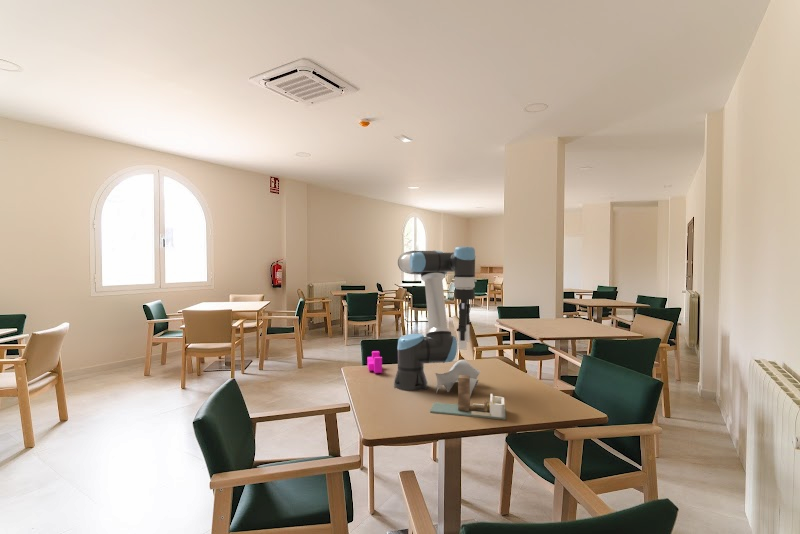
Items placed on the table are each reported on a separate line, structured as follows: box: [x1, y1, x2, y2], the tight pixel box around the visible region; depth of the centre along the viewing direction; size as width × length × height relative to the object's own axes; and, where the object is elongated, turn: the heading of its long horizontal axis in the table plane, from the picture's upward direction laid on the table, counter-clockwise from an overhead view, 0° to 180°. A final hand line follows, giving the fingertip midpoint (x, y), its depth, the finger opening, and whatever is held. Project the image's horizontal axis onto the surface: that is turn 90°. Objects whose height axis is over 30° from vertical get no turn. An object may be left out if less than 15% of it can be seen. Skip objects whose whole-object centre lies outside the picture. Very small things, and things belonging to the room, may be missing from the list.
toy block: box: [366, 350, 383, 374], centre depth 206 cm, size 15×6×8 cm, turn 9°
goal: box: [489, 393, 505, 418], centre depth 145 cm, size 5×9×5 cm, turn 166°
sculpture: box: [435, 359, 481, 397], centre depth 177 cm, size 25×19×10 cm
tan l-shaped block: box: [457, 375, 489, 413], centre depth 148 cm, size 10×6×12 cm, turn 76°
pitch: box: [429, 401, 507, 421], centre depth 148 cm, size 27×9×2 cm, turn 76°
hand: (464, 345), depth 148 cm, fingers open, 13 cm apart
